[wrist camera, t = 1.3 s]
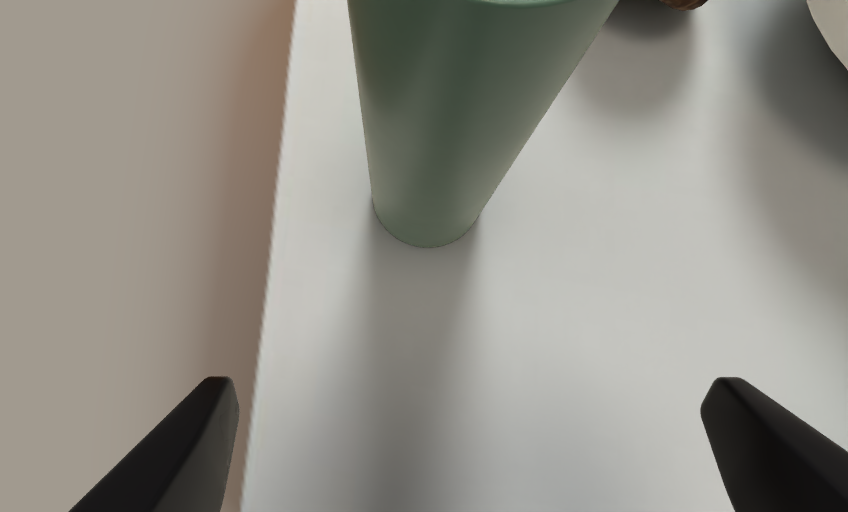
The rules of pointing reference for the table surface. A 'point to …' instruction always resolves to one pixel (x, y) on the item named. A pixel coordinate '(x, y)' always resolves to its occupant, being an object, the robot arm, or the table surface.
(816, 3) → the bowl
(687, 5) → the mushroom
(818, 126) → the table surface
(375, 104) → the cylinder
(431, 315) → the table surface
